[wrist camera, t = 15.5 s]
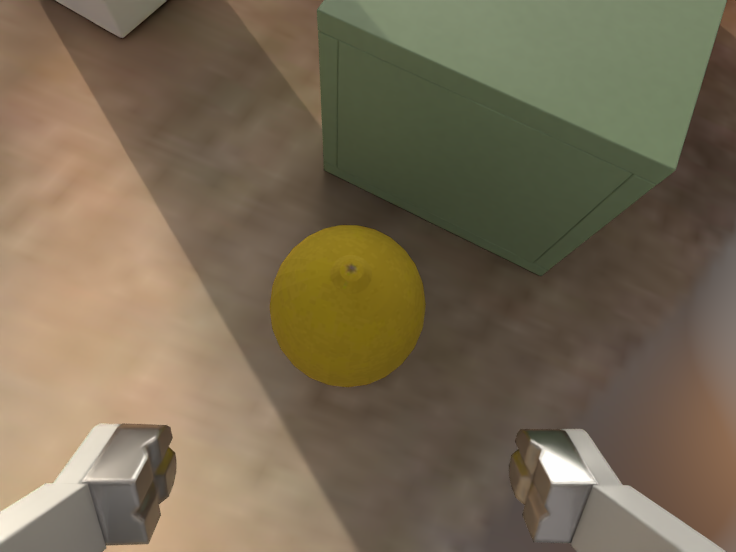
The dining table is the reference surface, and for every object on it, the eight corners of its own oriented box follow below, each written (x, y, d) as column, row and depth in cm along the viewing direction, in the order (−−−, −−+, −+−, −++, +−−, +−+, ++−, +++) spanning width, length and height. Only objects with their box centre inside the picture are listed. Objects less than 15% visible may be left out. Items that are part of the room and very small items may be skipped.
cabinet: (441, -8, 28) (488, -205, 19) (622, 70, 27) (758, -104, 18) (323, 170, 23) (316, 9, 14) (540, 276, 21) (676, 170, 13)
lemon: (424, 304, 21) (475, 228, 13) (376, 418, 19) (403, 405, 11) (317, 257, 21) (308, 156, 14) (260, 363, 19) (211, 314, 12)
